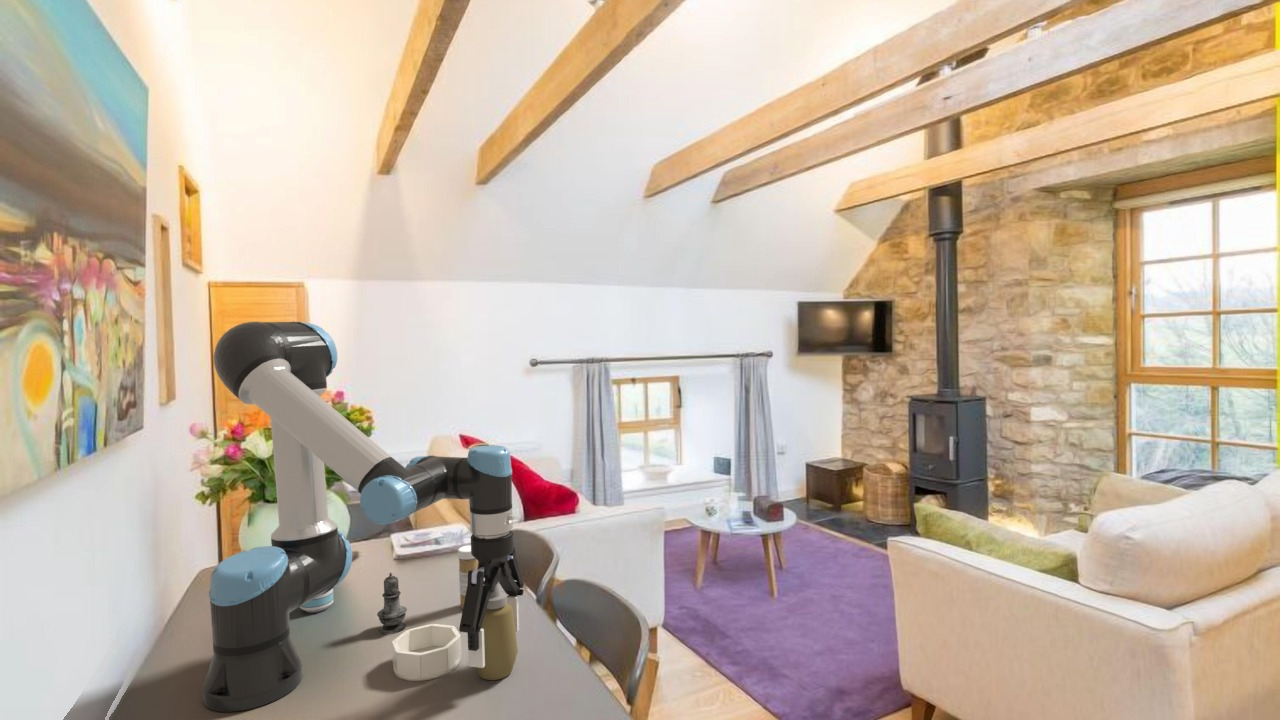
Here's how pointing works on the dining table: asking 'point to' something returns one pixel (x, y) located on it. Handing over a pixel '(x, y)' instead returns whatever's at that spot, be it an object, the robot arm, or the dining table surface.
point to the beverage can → (319, 603)
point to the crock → (426, 652)
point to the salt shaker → (391, 608)
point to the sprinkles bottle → (465, 569)
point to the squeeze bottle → (498, 637)
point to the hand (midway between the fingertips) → (495, 647)
